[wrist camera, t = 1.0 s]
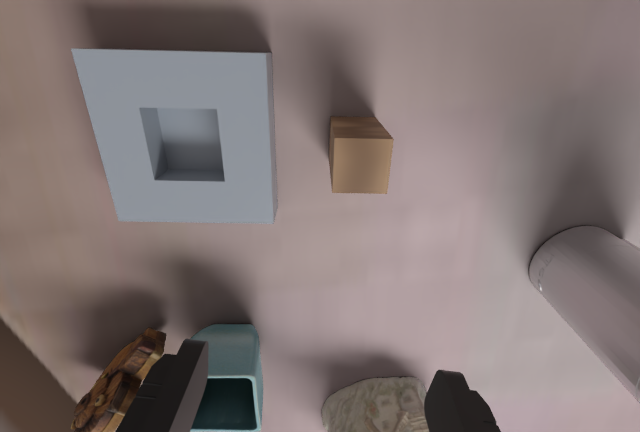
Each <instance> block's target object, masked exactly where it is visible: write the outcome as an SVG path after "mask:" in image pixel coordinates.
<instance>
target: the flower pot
mask: <svg viewBox="0 0 640 432" xmlns="http://www.w3.org/2000/svg"><path fill="white" fill-rule="evenodd" d="M191 339H192V340H200V341H208V344H209V350H208V378H207V383H206V387H205V390H204V393H203V396H202V399H201V402H200V404H199V407H198V410H197V413H196V416H195V419H194V421H193V424H192V427H191V430H190V432H204V431H207V432H208V431H210V432H211V431H214V432H223V431H225V432H226V431H227V432H257V431H261V422H262V404H263V377H262V368H261V358H260V346H259V337H258V333H257V331H256V329H255V327H254V326H253V325H251V324H213V325H210V326H208V327H206V328H204V329H202V330H200V331H199V332H198V333H196V334H195V335H194V336H193V337H192V338H191Z"/></svg>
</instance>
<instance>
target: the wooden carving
mask: <svg viewBox="0 0 640 432" xmlns="http://www.w3.org/2000/svg"><path fill="white" fill-rule="evenodd" d="M165 340H166V333H163V332H161V331H156V330H153V329H151V328H150V327H149V328H147V329H146V331H145V332H144V334H143V335H142V334H141V335H140V336H139V337H138V338H137V339H136V340H135V341H134V342H131V343H130V344H128V345H127V346H126V347H125V348H123V349H122V350H121V351H120V352H119V353H118V354H117V355H116V357H115V358H114V359H113V360H112V362H111V363H110V364H109V365H108V366H107V367H106V369H105V371H104V372H103V373H102V375H101V376H100V377H99V379H98V380H97V381H96V383H95V384H94V386H93V387H92V389H91V390H90V392H89V393H87V394H86V395H85V396H84V397H83V398H82V399H81V400H80V402H79V403H78V405H77V407H76V408H75V411H74V416H75V419H74V420H73V422H72V425H71V429H75V431H74V432H114V431H115V429H116V428H117V427H118V425H119V424H120V422H121V421H122V419H123V417H124V415H125V414H126V412H127V410H128V408H129V406H130V404H131V403H132V401H133V399H134V398H135V397H136V394H137V392H138V390H139V387H140V384H141V382H142V380H143V379H144V378H145V377H146V375H147V373H148V372H149V370H150V368H151V366H152V365H153V364H154V363H156V362H157V361H158V360H159V359H160V358H161V356H162V354H163V352H164V345H165Z"/></svg>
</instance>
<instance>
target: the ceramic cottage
mask: <svg viewBox="0 0 640 432" xmlns="http://www.w3.org/2000/svg"><path fill="white" fill-rule="evenodd" d="M426 394H427V393H426V390H425V387H424V385H423V383H422V382H421V381H420V380H418V379H417V378H414V377H412V378H411V377H406V378H405V377H402V378H399V377H390V378H381V377H379V378H372V379H370V378H369V379H366V380H362V381H360V382H357V383H354V384H353V385H350V386H347V387H345V388H343V389H340V390H339V391H337V392H336V393H335V394H334V393H333V394H332V395H330V396H329V397H328V398H327V400H326V401H325V403H324V406H323V408H322V421H323V426H324V427H325V428H326V430H327V431H328V432H429V429H428V425H427V422H426V418H425V413H424V401H425V397H426Z"/></svg>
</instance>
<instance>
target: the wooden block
mask: <svg viewBox="0 0 640 432" xmlns="http://www.w3.org/2000/svg"><path fill="white" fill-rule="evenodd" d="M393 140H394V139H393V138H392V137H391V135H390V134H389V133H388V132H387V131H386V129H385V128H384V127H383V126H382V125H381V123H380V122H379V121H378V120H377V119H376V117H335V116H331V118H330V147H329V164H330V174H331V184H332V193H376V194H387V190H388V182H389V173H390V165H391V156H392V148H393Z"/></svg>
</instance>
